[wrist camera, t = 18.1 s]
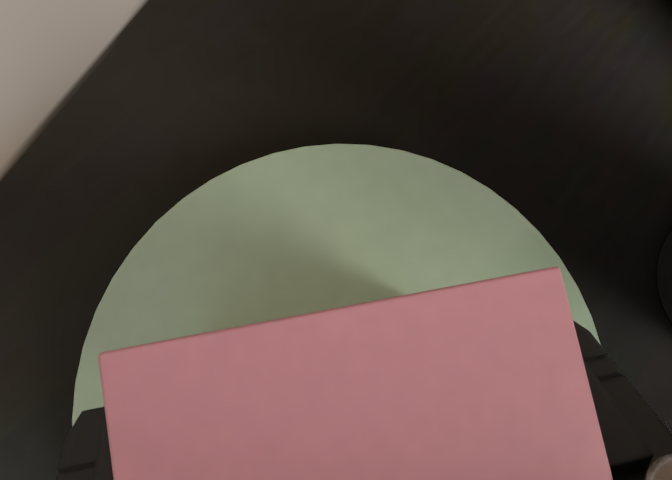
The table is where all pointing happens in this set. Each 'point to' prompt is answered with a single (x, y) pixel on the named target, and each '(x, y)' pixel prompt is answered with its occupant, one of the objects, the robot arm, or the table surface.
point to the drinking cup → (665, 275)
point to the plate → (310, 248)
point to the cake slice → (366, 393)
